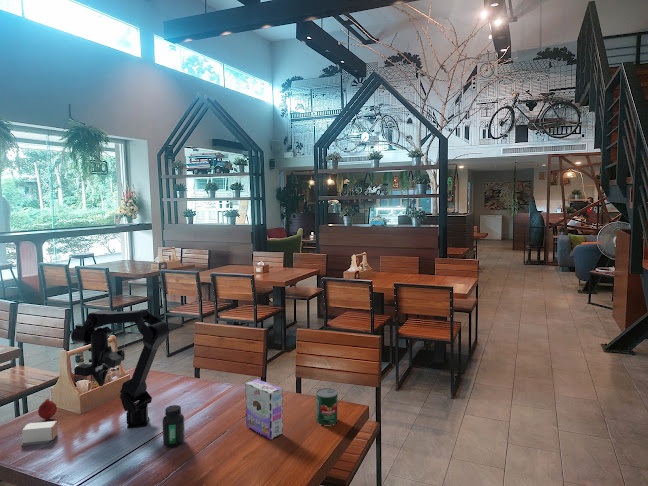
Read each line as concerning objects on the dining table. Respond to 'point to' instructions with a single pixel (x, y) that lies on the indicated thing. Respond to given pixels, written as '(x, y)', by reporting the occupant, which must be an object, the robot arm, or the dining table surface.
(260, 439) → the dining table surface
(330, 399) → the canned tomato
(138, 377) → the robot arm
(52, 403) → the onion
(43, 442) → the mat
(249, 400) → the candy box
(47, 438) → the block
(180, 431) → the supplement bottle
